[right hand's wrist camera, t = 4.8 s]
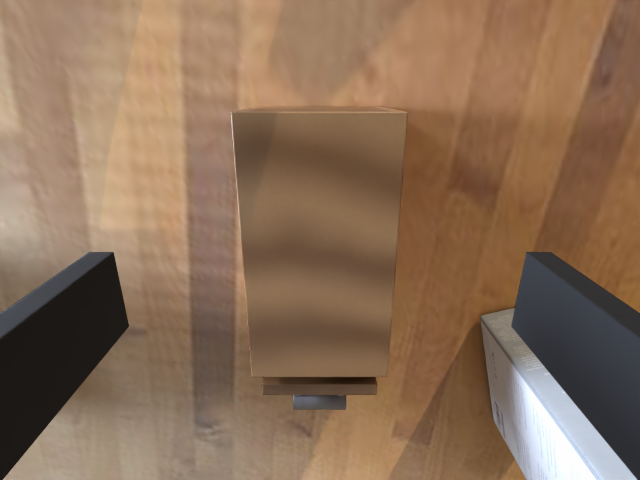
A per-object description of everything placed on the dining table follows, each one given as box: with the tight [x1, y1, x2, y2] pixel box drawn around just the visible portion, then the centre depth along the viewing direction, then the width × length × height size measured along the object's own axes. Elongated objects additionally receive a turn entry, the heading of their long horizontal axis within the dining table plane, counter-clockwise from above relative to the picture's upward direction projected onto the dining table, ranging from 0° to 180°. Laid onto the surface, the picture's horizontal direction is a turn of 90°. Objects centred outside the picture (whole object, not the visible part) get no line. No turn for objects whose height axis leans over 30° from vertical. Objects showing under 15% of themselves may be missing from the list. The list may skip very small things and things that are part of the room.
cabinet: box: [231, 107, 408, 377], centre depth 33 cm, size 21×11×10 cm, turn 0°
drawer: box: [262, 377, 377, 410], centre depth 35 cm, size 25×10×8 cm, turn 0°
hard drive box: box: [480, 308, 637, 480], centre depth 34 cm, size 16×8×20 cm, turn 15°
